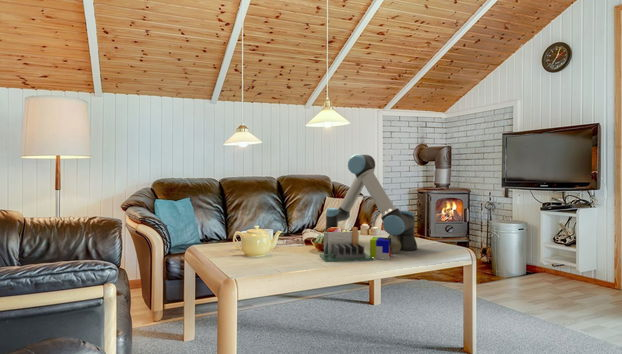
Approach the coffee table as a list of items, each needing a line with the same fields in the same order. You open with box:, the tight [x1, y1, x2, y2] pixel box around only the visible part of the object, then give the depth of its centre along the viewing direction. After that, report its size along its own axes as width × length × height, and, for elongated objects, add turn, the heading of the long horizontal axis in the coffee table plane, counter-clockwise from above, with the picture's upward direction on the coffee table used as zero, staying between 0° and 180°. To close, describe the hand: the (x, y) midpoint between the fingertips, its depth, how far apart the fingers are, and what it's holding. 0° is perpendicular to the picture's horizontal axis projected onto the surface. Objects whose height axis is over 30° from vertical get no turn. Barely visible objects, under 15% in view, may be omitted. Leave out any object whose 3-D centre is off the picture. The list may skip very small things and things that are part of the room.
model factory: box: [319, 226, 374, 263], centre depth 227 cm, size 26×15×16 cm, turn 100°
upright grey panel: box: [323, 231, 360, 254], centre depth 232 cm, size 20×2×12 cm, turn 99°
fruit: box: [387, 234, 402, 254], centre depth 243 cm, size 10×9×12 cm
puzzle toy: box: [369, 236, 392, 260], centre depth 231 cm, size 10×10×10 cm
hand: (344, 243), depth 233 cm, fingers closed, pressing on upright grey panel
